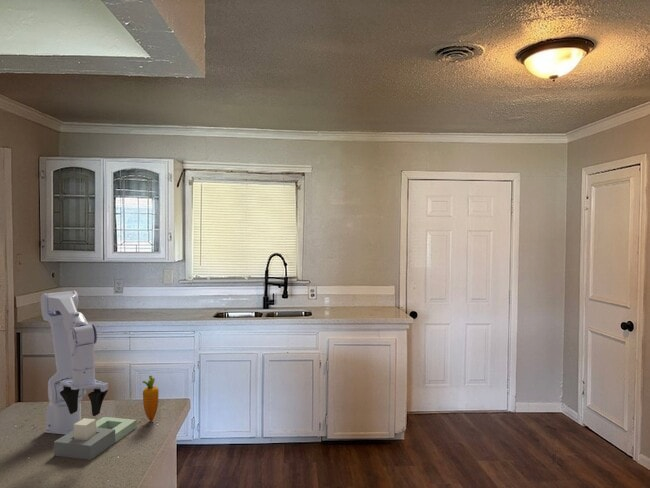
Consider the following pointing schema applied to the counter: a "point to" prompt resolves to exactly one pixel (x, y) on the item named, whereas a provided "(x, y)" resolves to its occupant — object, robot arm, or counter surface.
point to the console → (94, 439)
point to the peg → (85, 429)
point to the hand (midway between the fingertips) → (84, 413)
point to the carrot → (150, 398)
